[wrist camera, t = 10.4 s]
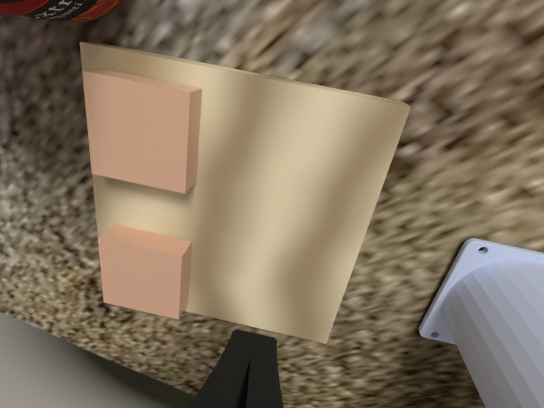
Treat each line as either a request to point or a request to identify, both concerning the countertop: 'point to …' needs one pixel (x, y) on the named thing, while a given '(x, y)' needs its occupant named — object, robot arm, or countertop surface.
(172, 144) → the tile
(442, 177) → the countertop surface
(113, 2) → the canned food
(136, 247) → the tile
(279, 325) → the board
